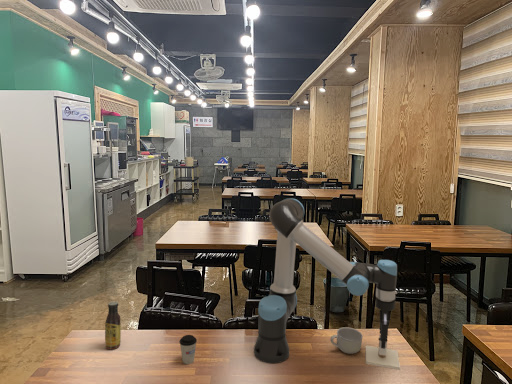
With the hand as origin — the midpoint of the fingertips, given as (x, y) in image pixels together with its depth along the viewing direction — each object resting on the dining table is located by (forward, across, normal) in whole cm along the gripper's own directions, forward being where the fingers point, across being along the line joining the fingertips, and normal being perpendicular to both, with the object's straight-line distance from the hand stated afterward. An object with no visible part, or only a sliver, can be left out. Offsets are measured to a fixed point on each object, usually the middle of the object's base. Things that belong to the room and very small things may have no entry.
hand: (382, 352), depth 153 cm
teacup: (+3, +2, +15) cm, 15 cm away
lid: (+3, 0, 0) cm, 3 cm away
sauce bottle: (+3, -26, +112) cm, 115 cm away
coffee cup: (+3, -26, +76) cm, 80 cm away
